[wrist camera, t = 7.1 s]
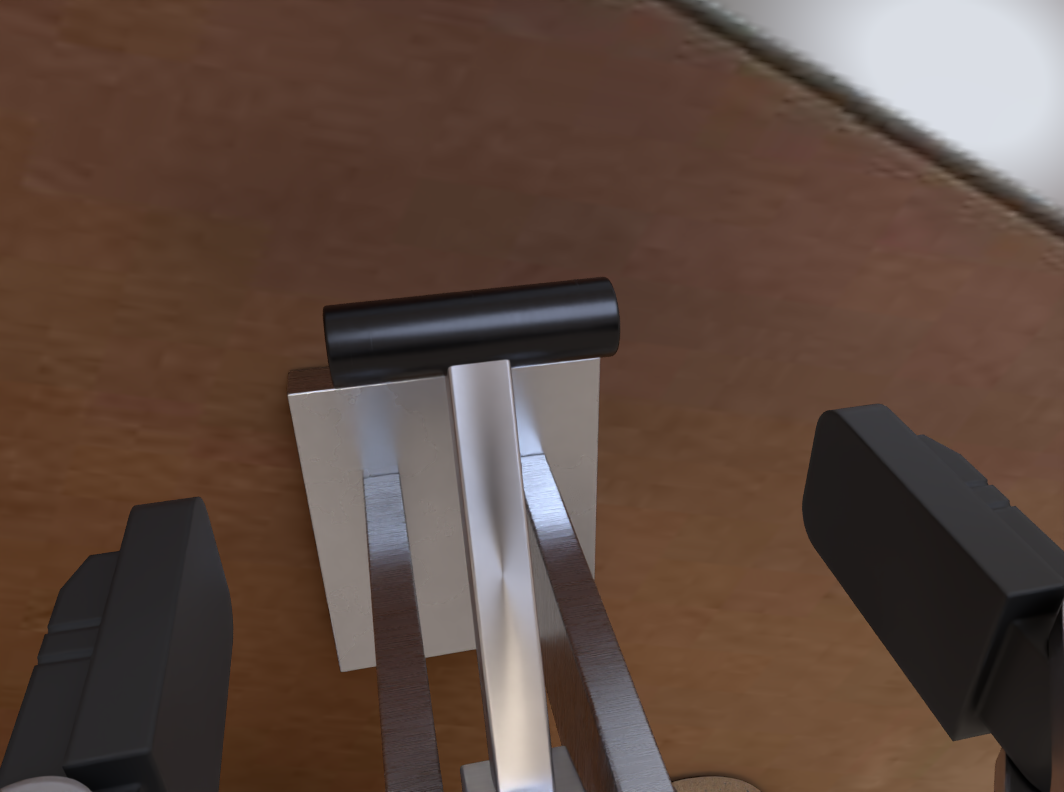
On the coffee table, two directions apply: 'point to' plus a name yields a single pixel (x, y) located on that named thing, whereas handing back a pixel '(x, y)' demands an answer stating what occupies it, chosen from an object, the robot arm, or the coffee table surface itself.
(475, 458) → the flush lever
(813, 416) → the coffee table surface
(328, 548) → the lever bracket
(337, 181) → the coffee table surface
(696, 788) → the candle holder
